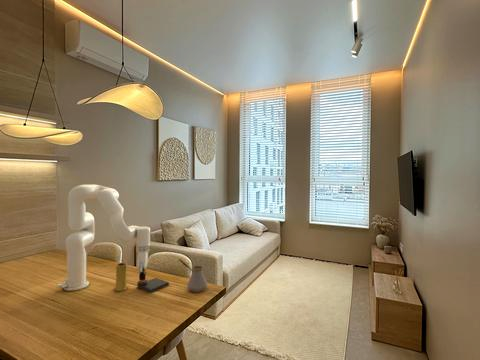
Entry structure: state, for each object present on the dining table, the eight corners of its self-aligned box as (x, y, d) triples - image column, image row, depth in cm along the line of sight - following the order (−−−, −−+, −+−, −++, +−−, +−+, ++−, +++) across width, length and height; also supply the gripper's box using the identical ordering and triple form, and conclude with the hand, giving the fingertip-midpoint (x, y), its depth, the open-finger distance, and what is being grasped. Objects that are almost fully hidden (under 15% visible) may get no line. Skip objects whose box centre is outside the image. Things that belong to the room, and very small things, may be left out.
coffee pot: (211, 288, 154) (211, 263, 154) (197, 295, 144) (198, 268, 144) (185, 280, 165) (185, 256, 165) (171, 286, 156) (171, 261, 156)
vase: (117, 286, 154) (117, 262, 154) (128, 286, 154) (128, 262, 154) (113, 291, 148) (113, 266, 148) (124, 291, 148) (125, 266, 148)
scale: (149, 293, 146) (149, 287, 146) (135, 287, 153) (135, 281, 153) (168, 285, 157) (168, 279, 157) (154, 280, 164) (154, 274, 164)
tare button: (142, 283, 152) (142, 280, 152) (139, 282, 153) (139, 279, 153) (145, 281, 154) (145, 279, 154) (143, 280, 155) (143, 278, 155)
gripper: (138, 245, 160) (137, 274, 160) (133, 251, 145) (133, 284, 145) (151, 244, 162) (150, 274, 162) (148, 251, 147) (147, 284, 147)
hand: (142, 279), depth 154 cm, fingers closed
